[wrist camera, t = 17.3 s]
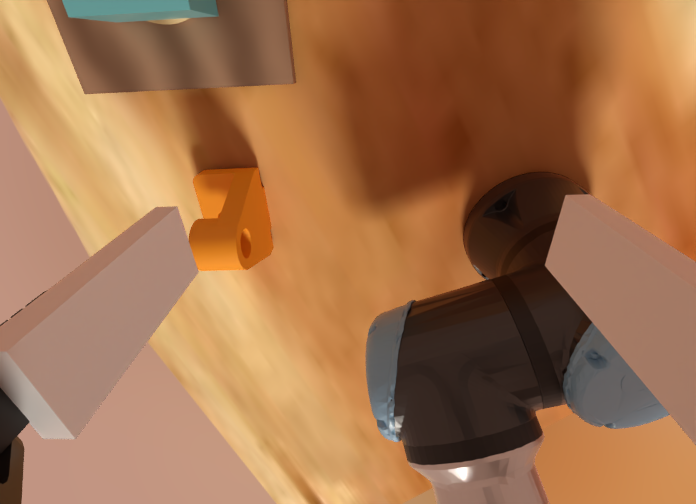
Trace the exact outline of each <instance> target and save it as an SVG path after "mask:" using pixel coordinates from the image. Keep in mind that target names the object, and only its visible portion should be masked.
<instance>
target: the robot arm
mask: <svg viewBox="0 0 696 504" xmlns="http://www.w3.org/2000/svg"><path fill="white" fill-rule="evenodd" d="M464 247H465V251H466V254H467V256H468V258H469V260H470V262H471V264H472V265H473V267H474V268H475V270H476V271H477V272H478V273H479V274H480V275H481V276H482V277H483V278H484V279H486V280H485V281H482V282H479V283H475V284H472V285H469V286H466V287H463V288H460V289H457V290H453V291H450V292H446V293H443V294H440V295H436V296H433V297H430V298H426V299H423V300H419V301H415V300H412V301H409V302H408V303H407V304H406V305H403V306H400V307H398V308H395V309H392V310H389V311H387V312H384V313H382V314H380V315H379V316H377V317H376V318H375V320H374V321H373V323H372V324H371V327H370V329H369V333H368V338H367V343H366V376H367V386H368V393H369V398H370V404H371V408H372V412H373V415H374V417H375V419H377V426H378V429H379V431H380V433H381V434H382V435H383V436H384V437H385V438H386V439H388V440H393V441H394V442H398V441H401V440H402V442H403V445H404V448H405V452H406V456H407V460H408V463H409V465H410V466H411V467H412V468H414V469H415V470H416V471H418V472H419V473H421V474H422V475H423V476H425V477H426V478H427V479H429V481H430V482H431V483H432V486H433V489H434V494H435V497H436V501H437V504H549V501H548V498H547V496H546V493H545V490H544V488H543V485H542V482H541V480H540V477H539V475H538V472H537V470H536V467H535V464H534V462H535V456H536V454H537V452H538V450H539V448H540V446H541V444H542V442H543V440H544V434H543V431H542V429H541V427H540V424H539V422H538V419H537V417H536V413H535V412H536V411H537V410H541V409H544V408H549V407H554V406H559V405H565V404H567V405H568V407H569V408H570V409H571V410H572V412H573V413H575V414H577V415H578V416H579V417H580V418H581V419H583V420H584V421H585V422H587V423H589V424H591V425H594V426H598V427H601V426H603V425H604V426H605V427H608V428H614V429H619V428H629V427H635V426H640V425H643V424H647V423H650V422H653V421H656V420H658V419H661V418H663V417H666V416H668V415H671V416H672V417H673V419H674V420H675V421H676V422H677V423H678V425H679V426H680V427H681V428H682V429H683V431H684V432H685V433H686V434H687V435H688V436H689V438H690V439H691V440H692V441H693V442H694V444H695V445H696V262H695V261H693V260H692V259H690V258H689V257H687V256H686V255H684V254H682V253H681V252H679V251H678V250H676V249H675V248H673V247H671V246H670V245H668V244H667V243H665V242H664V241H662V240H661V239H659V238H657V237H656V236H654V235H653V234H651V233H650V232H648V231H646V230H645V229H643V228H642V227H640V226H639V225H637V224H635V223H634V222H632V221H631V220H629V219H628V218H626V217H625V216H623V215H621V214H620V213H618V212H617V211H615V210H614V209H612V208H610V207H609V206H607V205H606V204H604V203H603V202H601V201H600V200H598V199H596V198H595V197H593V196H592V195H590V194H589V193H588V192H587V191H586V190H585V189H584V188H583V187H581V186H580V185H578V184H577V183H575V182H573V181H572V180H570V179H568V178H567V177H564V176H562V175H559V174H555V173H548V172H534V173H527V174H523V175H519V176H516V177H513V178H511V179H508V180H506V181H504V182H502V183H501V184H499V185H497V186H496V187H494V188H493V189H492V190H490V191H489V192H488V193H487V194H486V195H484V196H483V197H482V198H481V199H480V201H479V202H478V203H477V204H476V206H475V207H474V208H473V210H472V211H471V213H470V215H469V217H468V219H467V222H466V225H465V229H464ZM198 272H199V271H198V268H197V265H196V262H195V259H194V256H193V253H192V250H191V247H190V244H189V241H188V238H187V235H186V232H185V229H184V226H183V222H182V219H181V216H180V213H179V210H178V207H156V208H154V209H153V210H152V211H150V212H149V213H148V214H147V215H145V216H144V217H143V218H141V219H140V220H139V221H137V222H136V223H135V224H133V225H132V226H131V227H130V228H128V229H127V230H126V231H124V232H123V233H122V234H120V235H119V236H118V237H116V238H115V239H114V240H113V241H111V242H110V243H109V244H107V245H106V246H105V247H103V248H102V249H101V250H99V251H98V252H97V253H96V254H94V255H93V256H92V257H90V258H89V259H88V260H86V261H85V262H84V263H83V264H81V265H80V266H79V267H77V268H76V269H75V270H74V271H72V272H71V273H70V274H68V275H67V276H66V277H64V278H63V279H62V280H60V281H59V282H58V283H57V284H55V285H54V286H53V287H51V288H50V289H49V290H47V291H45V292H43V293H42V294H40V295H39V296H38V297H37V298H35V299H34V300H33V301H32V302H30V303H29V304H27V305H26V307H25V308H24V309H21V310H19V311H18V312H17V313H15V314H14V315H13V316H12V317H11V319H9V320H6V321H5V322H4V323H2V324H1V325H0V504H21V499H22V480H23V462H24V446H23V443H22V441H21V440H20V439H19V438H18V437H17V435H18V434H19V433H20V432H21V431H22V430H23V429H24V428H25V427H26V425H27V424H28V423H30V424H31V426H32V427H33V428H34V429H35V430H36V431H37V432H38V434H39V435H40V436H41V437H42V438H43V439H76V438H77V437H78V435H79V434H80V433H81V431H82V430H83V428H84V427H85V426H86V424H87V423H88V422H89V420H90V419H91V418H92V416H93V415H94V413H95V412H96V411H97V409H98V408H99V407H100V405H101V404H102V402H103V401H104V400H105V399H106V397H107V396H108V394H109V393H110V392H111V390H112V389H113V388H114V386H115V385H116V383H117V382H118V381H119V379H120V378H121V377H122V375H123V374H124V373H125V371H126V370H127V369H128V367H129V366H130V365H131V363H132V362H133V361H134V359H135V358H136V356H137V355H138V354H139V352H140V351H141V349H142V348H143V347H144V346H145V344H146V343H147V341H148V340H149V339H150V337H151V336H152V335H153V333H154V332H155V331H156V329H157V328H158V327H159V325H160V324H161V322H162V321H163V320H164V318H165V317H166V316H167V314H168V313H169V312H170V310H171V309H172V307H173V306H174V305H175V303H176V302H177V301H178V299H179V298H180V297H181V295H182V294H183V293H184V291H185V290H186V288H187V287H188V286H189V284H190V283H191V282H192V280H193V279H194V278H195V276H196V275H197V274H198Z"/></svg>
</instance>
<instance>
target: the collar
mask: <svg viewBox="0 0 696 504" xmlns="http://www.w3.org/2000/svg"><path fill="white" fill-rule="evenodd" d="M62 1H63V4H64V7H65V9H66V12H67V15H68V17H71V18H80V19H89V20H98V21H108V22H132V21H149V20H166V19H182V18H199V17H216V16H219V15H218V10H217V5H216V0H62Z"/></svg>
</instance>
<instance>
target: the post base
mask: <svg viewBox="0 0 696 504" xmlns="http://www.w3.org/2000/svg"><path fill="white" fill-rule="evenodd" d="M47 2H48V4H49V7H50V9H51V12H52V14H53V17H54V19H55V22H56V24H57V27H58V29H59V32H60V34H61V36H62V39H63V41H64V44H65V46H66V49H67V51H68V54H69V56H70V59H71V61H72V64H73V66H74V69H75V71H76V74H77V76H78V79H79V81H80V84H81V86H82V88H83V91H84V93H85V94H97V93H117V92H138V91H158V90H178V89H198V88H219V87H239V86H259V85H280V84H294V83H296V78H295V69H294V60H293V51H292V42H291V33H290V24H289V15H288V6H287V0H216V5H217V10H218V15H219V16H216V17H199V18H182V19H166V20H149V21H132V22H108V21H98V20H89V19H80V18H71V17H68V15H67V12H66V9H65V7H64V4H63V1H62V0H47Z"/></svg>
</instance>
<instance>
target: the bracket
mask: <svg viewBox="0 0 696 504" xmlns="http://www.w3.org/2000/svg"><path fill="white" fill-rule="evenodd" d="M193 184H194V188H195V191H196V194H197V198H198V201H199V204H200V208H201V211H202V214H203V218H204V219H198V220H196V221H195V222H194V223H193V225H192V227H191V230H190V234H189V244H190V247H191V250H192V253H193V256H194V259H195V262H196V265H197V268H198V270H201V271H212V270H247V269H249V268H251V267H252V266H254V265H255V264H257V263H258V262H260V261H261V260H263V259H265V258H266V257H268V256H269V255H270V254H271V252H272V250H273V242H272V237H271V232H270V229H271V222H270V217H269V211H268V206H267V201H266V196H265V190H264V186H263V187H262V185H261V180H260V175H259V170H258V168H235V169H213V170H203V171H202V172H200V173H199V174H198V175H197V176H195V177H194V179H193Z"/></svg>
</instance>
